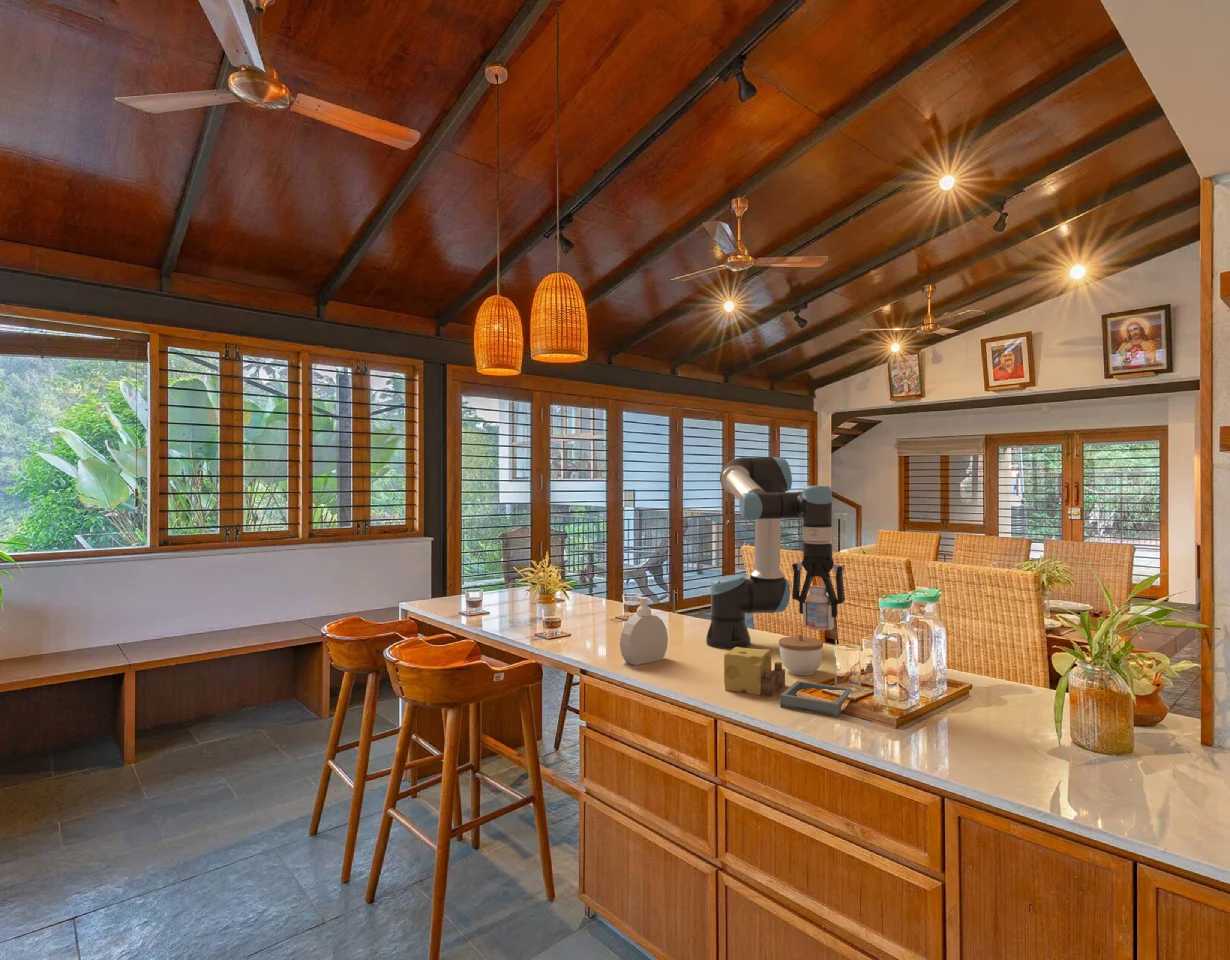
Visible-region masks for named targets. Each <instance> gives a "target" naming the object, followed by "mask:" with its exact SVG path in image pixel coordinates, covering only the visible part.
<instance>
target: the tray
mask: <svg viewBox="0 0 1230 960" xmlns="http://www.w3.org/2000/svg"><path fill="white" fill-rule="evenodd" d="M807 688H815V689H828V690H845V692H844V693H843V694H842V695H841V696H840V697H839V698H838V699H837V700H836V701H835V702H828V701H822V700H816V699H810V698H804V697H798V696H797V695H796V693H797V691H799V690H801V689H807ZM851 691H852V692H853V689H852V688H850V687H849V688H848V687H842V686H835V685H828V684H821V683H815V682H809V681H801V680H796V681H795V682H794V683H793V684H792V685H791V686H789V687H788V688H786V689H785V691H783V692H782V693H780V695H779V696H780V697H779V699H780V701H779V704H780V708H784V709H789V710H796V711H800V712H807V713H812V714H818V715H824V716H829V717H836V718H838V717H839V716H840V715H841V714H842V713H841V706H842V704H843V703H844V702H845V700H846V699H847V697H848V695H849V694H850V692H851Z"/></svg>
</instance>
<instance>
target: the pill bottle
mask: <svg viewBox="0 0 1230 960" xmlns="http://www.w3.org/2000/svg"><path fill="white" fill-rule="evenodd" d="M808 592H809V594H807V597H806V602H807V627H806V628H808V629H810V630H814V631H827V630H828V605H830V604H831V602H830V599H829V596H828V593H827V590H826V587H825V585H824V586H823V585H810V587H809V591H808ZM828 631H829V630H828Z"/></svg>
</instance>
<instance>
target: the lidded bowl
mask: <svg viewBox="0 0 1230 960" xmlns="http://www.w3.org/2000/svg"><path fill="white" fill-rule="evenodd" d="M778 646H779V647H778V648H779V657H780V660H781V663H782V666H784V668H786V669H787V670H788V672H789V674H792V675H797V676H811V675H813V674H814V673H815V672H816V671H817V670H818V669H819V667H820V665H821V663H822V661H823V654H824V653H823V652H824V650H823V648H824V642H823V641H822V640H821V639H819V638H815V637H810V636H804V635H803V634H801V633H798V636H797V635H796V636H795V635H792V636H784V637H781V638H779V640H778Z"/></svg>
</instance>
